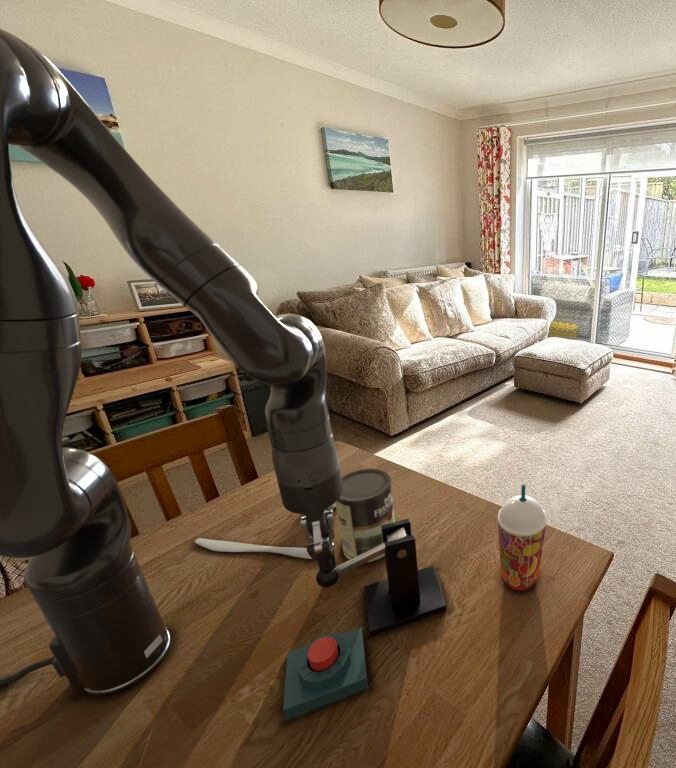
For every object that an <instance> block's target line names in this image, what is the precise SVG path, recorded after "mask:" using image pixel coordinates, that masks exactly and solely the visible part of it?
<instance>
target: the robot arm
mask: <svg viewBox="0 0 676 768" xmlns="http://www.w3.org/2000/svg"><path fill="white" fill-rule="evenodd" d="M10 146H16V147H18V148H20V149H22V150H23V151H25V152H26V153H28V154H29V155H31V156H32V157H34V158H35V159H36V160H37V161H39V162H41V163H42V164H44V165H45V166H47V167H48V168H49V169H51V170H52V171H53V172H55V173H56V174H57V175H59V176H60V177H62V178H63V179H64V180H65V181H66V182H68V183H69V184H71V185H72V186H73V188H75V189H76V190H77V191H78V192H80V194H82V196H84V198H85V199H87V200H88V202H89V203H90V204H91V205H92V206H93V207H94V209H95V210H96V211H97V212H98V213H99V214H100V216H101V217H102V219H103V220H104V222H105V223H106V224H107V226H108V227H109V229H110V230H111V232H112V233H113V235H114V237H115V238H116V240H117V241H118V242H119V244H120V245H121V247H122V248H123V250H124V251H125V252H126V254H127V255H128V256H129V257H130V259H131V260H132V261H133V262H134V263H135V264H136V265H137V267H139V269H141V271H142V272H143V273H145V274H146V275H147V276H148V277H149V278H150V279H151V280H152V281H154V283H156V284H157V285H158V286H159V287H161V289H163V290H164V291H165V292H166V293H167V294H169V295H170V296H171V297H172V298H173V299H174V300H176V301H177V302H178V303H179V304H181V305H182V306H183V307H185V309H187V311H189V312H190V313H192V314H193V315H194V316H196V317H197V318H198V319H199V320H200V322H201V323H202V325H203V326H204V327H205V328H206V330H207V331H208V333H209V334H210V336H211V337H212V338H213V339H214V340H215V342H216V343H217V344H218V346H219V347H220V348H221V350H222V351H223V352H224V353H225V354H226V356H227V357H228V358H229V359H230V360H231V361H232V363H233V364H234V365H235V366H236V367H237V368H238V369H239V370H240V371H241V372H243V373H244V374H245V375H247V376H248V377H250V378H251V379H253V380H255V381H257V382H258V383H261V384H263V385H265V386H269V387H270V394H269V397H268V400H267V402H266V405H265V407H264V419H265V424H266V429H267V434H268V438H269V441H270V445H271V454H272V464H273V469H274V472H275V477H276V481H277V485H278V489H279V495H280V498H281V502H282V505H283V507H284V508H285V510H287V511H288V512H290V513H293V514H297V515H302V516H301V517H300V526H301V529H302V531H304V533H305V537H306V541H307V547H306V548H307V552H308V554H309V556H310V557H311V558H312V559H311V560H312V561H313V562H314V561H317V564H318V571H319V570H320V572H325V571H329V570H332V569H335V568H336V566H337V558H336V553H335V544H334V540H335V520H334V508H333V504H334V503H335V502H336V501H337V500H338V499H339V498H340V497H341V495H342V493H343V483H342V477H343V476H342V471H341V465H340V459H339V453H338V447H337V444H336V441H335V439H334V435H333V429H332V424H331V423H332V422H331V419H330V418H331V417H330V413H329V408H328V404H327V357H326V348H325V343H324V340H323V336H322V333H321V332H320V330H319V328H318V327H317V326H316V325H315V324H314V323H313V322H312V321H311V320H310V319H308V318H306V317H305V316H304V315H303V316H302V315H300V314H296V313H284V314H279V315H276V316H275V315H274V314H273V313H272V312H271V311H270V310H269V309H268V308H267V306H266V305H265V304H264V303H263V302H262V301H261V300H260V298H259V297H258V293H259V285H258V283H257V282H256V280H255V279H254V277H253V276H252V275H251V274H250V272H248V271H247V270H246V269H245V268H244V267H243V266H242V265H241V264H240V263H239V262H238V261H237V260H236V259H235V258H233V256H231V254H229V253H228V252H227V251H226V250H225V249H224V248H223V247H222V246H221V245H219V244H218V242H216V241H215V240H214V239H213V238H212V237H211V236H210V235H209V234H208V233H206V232H205V231H204V230H203V229H202V228H201V226H199V225H198V224H197V223H196V222H195V221H194V220H193V219H192V218H191V217H190V216H189V215H187V214H186V213H185V212H184V211H183V210H182V209H181V208H180V207H179V206H178V204H176V202H174V200H173V199H171V198H170V196H169V195H167V194H166V192H164V190H163V189H162V188H161V187H160V186H159V185H158V184H157V183H156V182H155V181H154V180H153V179H152V178H151V176H149V175H148V173H147V172H146V171H145V170H144V169H143V168H142V167H141V165H140V164H138V162H137V161H136V160H135V159H134V158H133V156H132V155H131V154H130V153H129V152H128V151H127V150H126V148H125V147H123V145H122V144H121V143H120V142H119V141H118V139H116V137H115V136H114V135H113V134H112V133H111V131H110V130H109V129H108V128H107V126H106V125H105V124H104V123H103V121H102V120H101V119H100V118H99V116H98V115H97V114H96V113H95V111H94V110H93V109H92V107H90V105H89V103H87V101H86V100H85V99H84V98H83V97H82V95H81V94H80V93H79V92H78V91H77V90H76V88H75V87H74V86H73V84H71V82H70V81H69V80H68V78H66V77H65V76H64V74H63V73H61V71H60V70H59V69H58V68H57V67H56V66H55V64H54V63H53V62H51V60H50V59H48V57H46V56H45V55H44V54H43V53H42V52H41V51H40V50H38V49H37V48H35V47H33V46H32V45H30V44H29V43H28V42H26V41H24V40H23V39H21V38H19V36H17V35H14V34H12V33H10V32H9V31H6V30H4V29H3V28H0V557H5V558H10V559H28V561H27V565H26V567H25V570H24V574H23V579H24V583H25V586H26V588H27V589H28V591H29V593H30V595H31V596H32V598H33V600H34V601H35V603H36V605H37V606H38V608H39V610H40V612H41V614H42V616H43V617H44V619H45V620H46V623H47V624H48V626H49V627H50V629H51V631H52V632H53V637H52V638H51V640H50V641H49V643H48V649H49V650H50V652H51V653H52V656H51V657H47V658H45V659H42V660H40V661H37V662H35V663H31V664H30V665H28V666H27V665H26V666H25V667H23V668H22V669H21V670H20V671H19V672H16V673H14V674H12V675H9V676H7V677H3V678H0V687H2V686H6V685H8V684H12V683H14V682H16V681H19V680H21V679H23V678H24V677H25V676H27V675H28V674H30V673H32V672H34V671H37V670H39V669H42V668H44V667H48V666H50V665H52V666H53V668H54V670H55V672H56V673H57V675H58V677H59V678H64V677H66V679H67V680H68V682H69V684H70V685H71V687H72V689H73V691H74V693H75V694H76V695H82V694H86V693H87V694H89V695H91V696H98V697H101V696H107V695H112V694H115V693H118V692H121V691H123V690H125V689H127V688H129V687H131V686H133V685H135V684H136V683H138V682H140V681H141V680H143V679H144V678H145V677H147V676H148V675H150V674H151V673H152V672H153V671H154V670H155V669H156V668H157V667H158V666H159V665H160V664H161V662H162V661H163V660H164V659H165V657H166V656H167V655H168V652H169V651H170V648H171V645H172V638H171V634H170V632H169V630H168V629H167V627H166V625H165V623H164V620H163V618H162V615H161V613H160V611H159V608H158V606H157V604H156V601H155V599H154V597H153V594H152V592H151V589H150V586H149V584H148V582H147V580H146V577H145V574H144V572H143V571H142V568H141V566H140V563H139V561H138V559H137V557H136V554H135V551H134V549H133V546H132V544H131V536H132V526H131V525H132V524H131V520H130V516H129V513H128V510H127V506H126V504H125V501H124V498H123V496H122V495H123V494H122V492H121V490H120V486H119V483H118V481H117V479H116V477H115V475H114V473H113V471H112V469H110V467H109V466H108V465H107V464H106V463H105V462H104V461H103V460H102V459H101V458H99V457H98V456H97V455H95V454H93V453H92V452H91V453H90V452H88V451H86V450H83V449H79V448H75V447H63V432H64V431H63V430H64V425H65V422H66V417H67V414H68V411H69V408H70V405H71V402H72V398H73V395H74V392H75V388H76V385H77V381H78V378H79V374H80V370H81V364H82V359H83V341H82V333H81V332H82V331H81V326H80V325H81V324H80V317H79V316H80V315H79V308H78V302H77V299H76V294H75V292H74V289H73V287H72V285H71V283H70V281H69V280H68V278H67V275H66V274H65V273H64V272H63V270H62V268H61V267H60V266H59V264H58V263H57V261H56V260H55V259H54V257H53V256H52V255H51V253H50V252H49V250H47V248H46V247H45V245H44V243H42V241H41V240H40V239H39V237H38V236H37V234H36V233H35V231H34V230H33V229H32V227H31V225H30V224H29V222H28V220H27V218H26V216H25V215H24V213H23V211H22V208H21V205H20V202H19V200H18V195H17V192H16V188H15V182H14V177H13V171H12V164H11V159H10V148H9V147H10Z"/></svg>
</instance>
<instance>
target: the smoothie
mask: <svg viewBox="0 0 676 768" xmlns="http://www.w3.org/2000/svg"><path fill="white" fill-rule="evenodd" d="M520 491H521V493H520V494H517V495H513V496H512V497H511V498H509V499H507V500H506V502H505V503H504V504H503V505H502V507H501V508H500V509H499V511H498V513H497V528H498V529H497V530H498V541H499V544H498V546H499V558H500V573H501V578H502V579H503V580H504V582H505V584H506V585H507V587H509V588H510V589H513V590H515V591H526V590H528V589H530V588H531V587H533V586H534V584H535V583H536V582H537V581H538V579H539V576H540V575H539V574H540V568H541V562H542V555H543V550H544V549H543V548H544V541H545V534H546V527H547V522H548V516H547V512H546V511H545V510H544V508H543V506H542V505H541V504H540V503H539V501H538V500H536V498H534V497H533V496H530V495H527V494H526V485H525V484H521V490H520Z"/></svg>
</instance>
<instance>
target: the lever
mask: <svg viewBox="0 0 676 768" xmlns="http://www.w3.org/2000/svg"><path fill="white" fill-rule="evenodd" d="M407 536H408V535H407V533H406V531H405V529H404V527H402V528H400V529H398V530H396V531H394V532H392V533H390V534H388V535H387V540H388V541H392V540H396V539H400V538H403V537H407ZM388 541H387V542H388ZM384 553H386V551H385V543H383V544H381V545H379V546H377V547H375V548H373V549H371V550H369V551H367V552H365V553H363V554H361V555H359V556H357V557H355V558H353V559H351V560H349V559H348V560H346V561H345V562H342V563H341V564H338V565H336V568H335V569H332V570H329V571H325V572H320V570H319V569H318V571H317V573H316V575H315V581H316V583H317V585H318V586H319V587H321V588H323V589H329V588H331V587H333V586H335V585H336V584H337V582H338V581H339V579H340V576H341V575H344V574H346V573H347V572H350V571H352V570H354V569H356V568H358V567H360V566H362V565H364V564H366V563H369V562H368V561H370V560H372V559H374V558H376V557H378V556H380V555H382V554H384Z"/></svg>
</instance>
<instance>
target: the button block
mask: <svg viewBox="0 0 676 768" xmlns="http://www.w3.org/2000/svg"><path fill="white" fill-rule="evenodd" d="M323 637H332V638H334V639H335V640H336V643H337V648H338V657H337V659H336V661H335V662H334V664H333V665H332V666H330V667H329V668H327V669H325V670H323V671H315V670H313V669H312V668H311V667H310V663H309V659H308V651H309V648H310V647H311V645H312V644H313V643H314V642H315V641H317V640H318V639H320V638H323ZM366 663H367V662H366V653H365V643H364V633H363V628H362V627H359V628H356V629H352V630H349V631H347V632H343V633H341V634H338V633H327V634H324V635H321V636H318V637H316V638H315V639H314V640H312V641H311V642H310V643H309V644H307V645H306V646H302V647H299V648H296V649H294V650H290V651H288V652H287V653H286V664H285V678H284V689H283V690H284V691H283V703H282V713H283V716H284V719H285V721H289V720H292V719H294V718H296V717H299V716H301V715H304V714H307V713H309V712H311V711H314V710H316V709H319V708H322V707H324V706H327V705H329V704H332V703H334V702H335V703H336V702H337V701H339V700H342V699H344V698H348V697H350V696H352V695H354V694H355V695H356V694H357V693H360V692H362V691H365V690H367V689H368V688H369V683H368V673H367V672H368V671H367V664H366Z"/></svg>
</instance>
